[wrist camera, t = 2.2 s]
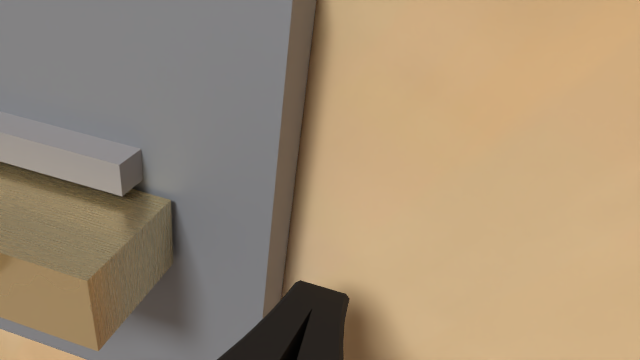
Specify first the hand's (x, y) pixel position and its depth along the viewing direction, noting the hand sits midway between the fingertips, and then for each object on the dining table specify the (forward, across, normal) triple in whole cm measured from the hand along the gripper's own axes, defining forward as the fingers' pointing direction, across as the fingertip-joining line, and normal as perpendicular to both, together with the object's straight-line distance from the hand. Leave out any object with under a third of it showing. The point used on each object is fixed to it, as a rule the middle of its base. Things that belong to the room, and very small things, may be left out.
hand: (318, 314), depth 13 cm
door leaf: (+4, +8, 0) cm, 9 cm away
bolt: (+1, +8, 0) cm, 9 cm away
